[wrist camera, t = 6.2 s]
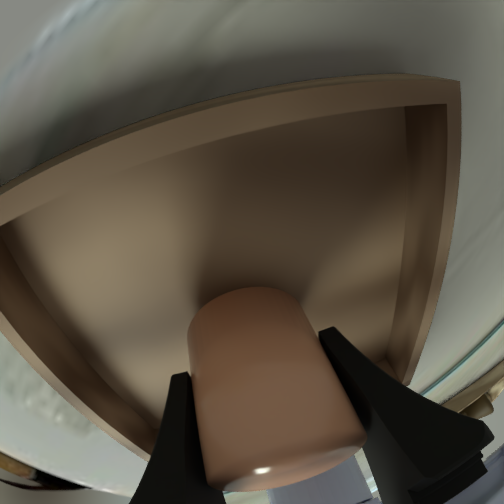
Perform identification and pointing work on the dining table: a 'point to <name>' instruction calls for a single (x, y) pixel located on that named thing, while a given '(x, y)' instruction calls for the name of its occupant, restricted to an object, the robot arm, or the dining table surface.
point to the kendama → (478, 408)
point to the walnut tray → (231, 234)
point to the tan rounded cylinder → (266, 393)
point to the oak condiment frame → (479, 389)
